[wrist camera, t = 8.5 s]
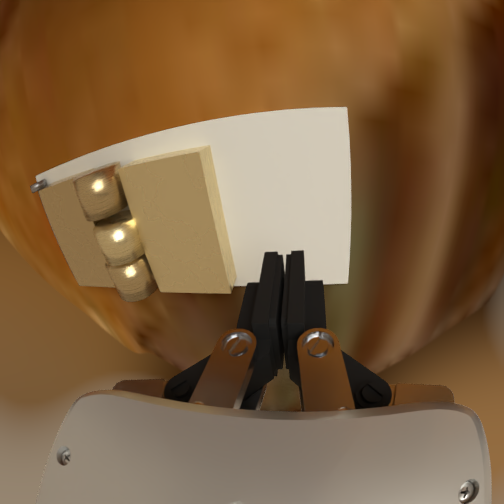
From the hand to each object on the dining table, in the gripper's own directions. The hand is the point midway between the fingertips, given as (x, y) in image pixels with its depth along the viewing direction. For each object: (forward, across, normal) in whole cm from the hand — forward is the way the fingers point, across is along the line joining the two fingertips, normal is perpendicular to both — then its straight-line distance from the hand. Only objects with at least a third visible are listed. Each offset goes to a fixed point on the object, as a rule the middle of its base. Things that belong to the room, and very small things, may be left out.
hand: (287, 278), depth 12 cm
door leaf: (+10, +10, +2) cm, 15 cm away
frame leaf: (+10, +20, +1) cm, 22 cm away
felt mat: (+10, +12, +2) cm, 16 cm away
